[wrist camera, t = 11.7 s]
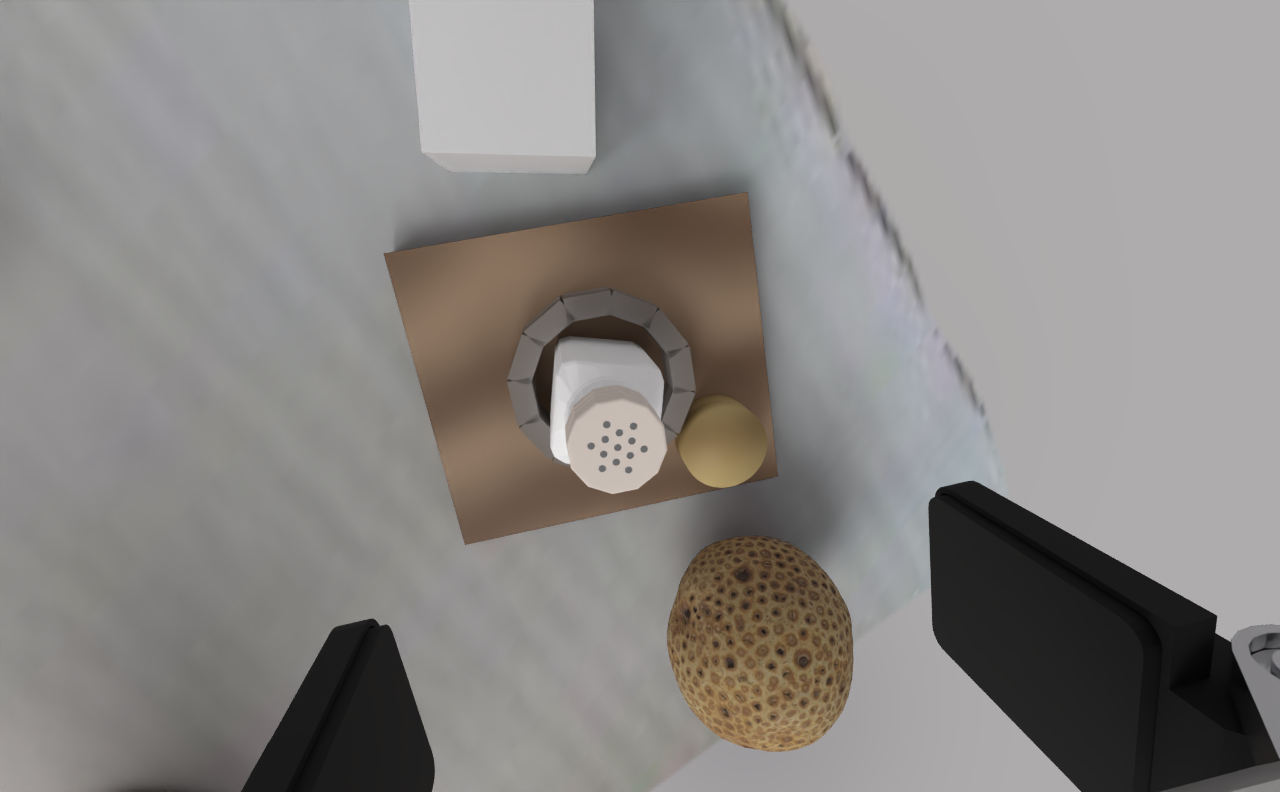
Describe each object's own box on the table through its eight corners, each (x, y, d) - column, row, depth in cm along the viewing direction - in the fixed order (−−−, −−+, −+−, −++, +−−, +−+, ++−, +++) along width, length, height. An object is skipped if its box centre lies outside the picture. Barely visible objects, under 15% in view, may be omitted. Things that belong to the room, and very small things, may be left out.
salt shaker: (549, 417, 28) (549, 504, 19) (555, 332, 27) (558, 380, 18) (633, 422, 28) (672, 508, 19) (642, 340, 27) (687, 390, 18)
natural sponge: (622, 545, 32) (652, 677, 22) (770, 472, 32) (864, 572, 22) (687, 668, 34) (740, 833, 25) (824, 600, 34) (928, 739, 25)
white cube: (438, 18, 24) (404, -52, 19) (583, 26, 25) (593, -38, 19) (449, 172, 26) (421, 152, 20) (586, 175, 27) (596, 156, 21)
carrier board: (767, 465, 32) (793, 492, 28) (469, 530, 30) (458, 566, 27) (737, 194, 28) (762, 188, 24) (392, 252, 26) (369, 254, 23)
